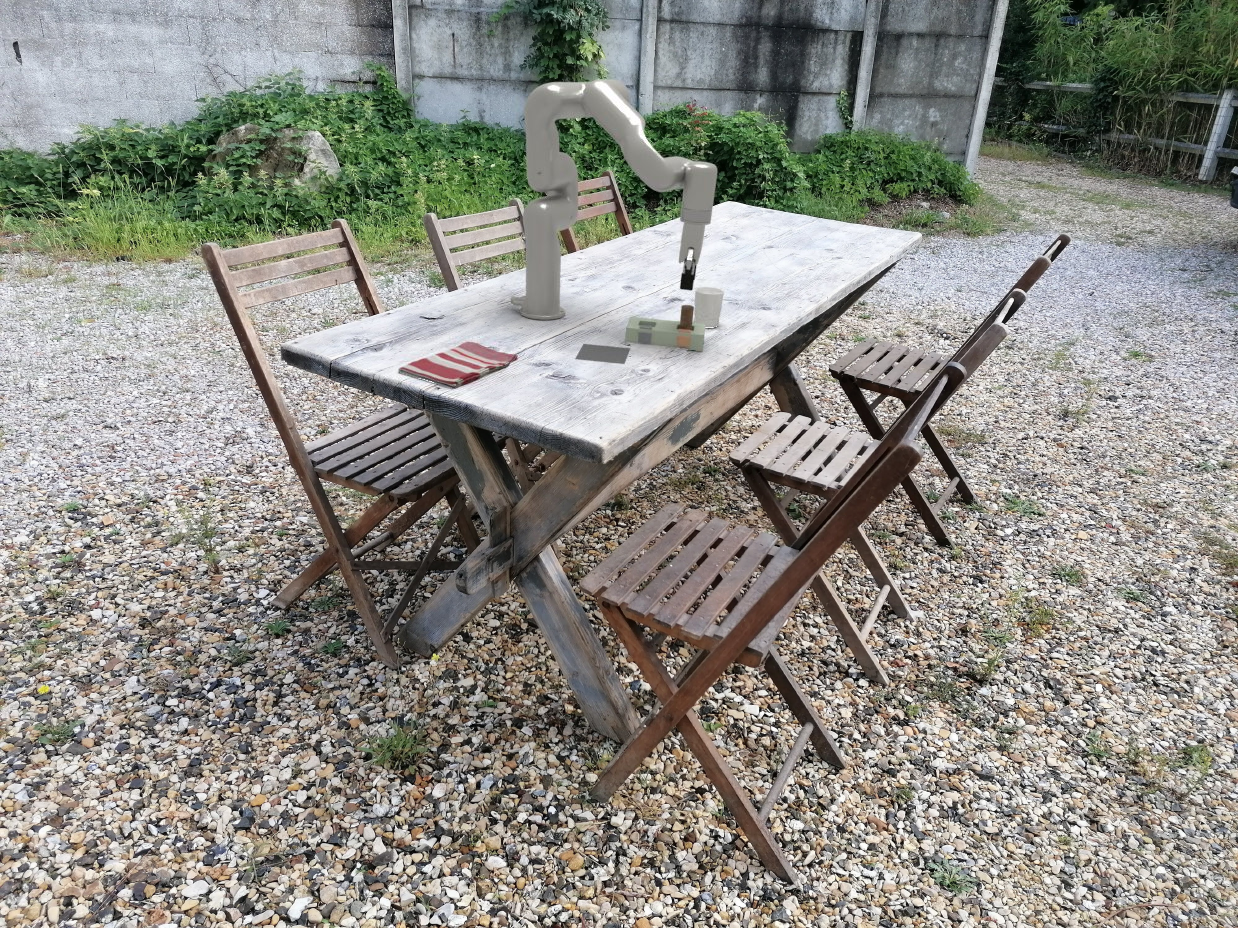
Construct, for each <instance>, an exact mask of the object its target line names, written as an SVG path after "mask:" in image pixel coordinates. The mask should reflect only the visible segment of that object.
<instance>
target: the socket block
mask: <svg viewBox="0 0 1238 928" xmlns="http://www.w3.org/2000/svg"><path fill="white" fill-rule="evenodd" d="M705 326H706V324H702V323H694V322H692V331H691V330H687V329H679V328H680V320H679V321H678V320H669V319H668V320H666V319H658V318H657V319H656V318H649V317H648V318H647V317H635V316H630V318H629V319H628V322H627V323H626V327H625V335H624V336H625V339H624V342H625V343H634V344H643V345H644V344H645V345H653V346H654V345H655V346H666V347H674V348H676V347H677V348H685V349H686V350H687V349H688V350H696V351H695V352H697V351H702V352H703V351H704V350H703V349H704V344H703V343H704V342H705V333H706V328H705Z"/></svg>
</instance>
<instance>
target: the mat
mask: <svg viewBox="0 0 1238 928" xmlns="http://www.w3.org/2000/svg"><path fill="white" fill-rule="evenodd" d="M630 351H631V347H623V346H622V347H621V346H612V345H611V346H608V345H602V344H601V345H600V344H599V345H598V344H589V343H583V344H582V346H581V347H580V349H579V351H578V353H577V355H576V356H575V358H574V360H580V361H591V362H599V363H600V362H602V363H611V364H620V365H625V363H626V361H627V359H628V356H629V354H630Z"/></svg>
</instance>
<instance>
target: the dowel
mask: <svg viewBox="0 0 1238 928" xmlns="http://www.w3.org/2000/svg"><path fill="white" fill-rule="evenodd" d="M680 307H681V308H680V310H681V311H680V318H679V321H680V328H679V329H687V330H691V331H692V323H694V308H695V306H693V305H689V304H684V305H682V304H681V306H680Z"/></svg>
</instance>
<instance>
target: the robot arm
mask: <svg viewBox="0 0 1238 928" xmlns="http://www.w3.org/2000/svg"><path fill="white" fill-rule="evenodd" d="M524 104H525V105H524V112H523V113H524V114H523V115H524V126H525V127H524V128H525V140H526V142H525V152H526V153H525V154H526V177H527V178H526V179H527V182H528V183H527V184H528V185H529V187H530V188H531V189H532V190H533V191H535V192H538V193H546V194H547V195H546V196H542V197H537V198H535V199H533V200H531V201H529V203H527V204H526V206H525V208H524V210H523V212H522V224H523V230H524V237H525V296H523V295H522V297H520V296H519V297H518V296H514V295H513V296H511V297H510V303H511V304H512V305H513V306H521V307H520V308H519V314H520V315H521V316H522V317H525V318H527V319H533V320H542V321H546V320H548V321H549V320H556V319H560V318H563V317H564V316H566V309H564V308H563V307H562V306H560V304H561V302H560V301H561V300H560V299H561V298H560V297H561V265H562V263H561V262H562V258H561V257H562V250H561V249H562V248H561V243H560V240H559V235H558V232H561V231H565V230H567V229H569V228H571V227H572V226H573V225H575V222H576V221H577V217H578V215H579V214H578V212H579V174H578V167H577V165H576V163H575V161H574V159H573V158H572V157H571V156H570V155H569V154H568V153H565V152H562V151H560V136H559V131H558V128H557V125H556V123H555V122H556V121H557V120H561V119H564V120H565V119H579V118H583V119H584V118H593V119H594V120H595V122H596V123H598V124H599V126H600V127H602V128H603V130H605V131H606V132H607V134H609V135H610V137H611V138H612V139H613V140H614V141H615V142H616V143H617V144H618V145H619V147H620V149H621V153H622V155H623V157H624V160H625V161H626V163H627V164H628V166H629V168H630V169H631V170H632V171H633V173H634V174H636V175H637V177H638V178H640V180H641V181H642V182H643V183H644V184H646V185H647V187H649V188H650V189H652V190H653V191H656V192H658V193H663V192H664V193H665V192H669V191H673V190H678V189H679V190H680V189H683V192H682V200H681V209H680V217H679V221H680V222H682V223H683V225H682V226H683V227H682V232H681V237H680V238H681V239H680V248H679V255H678V263H679V264H682V263H683V267H682V272H681V276H680V284H679V290H684V291H693V289H694V282H695V279H696V273H697V265H698V264H699V261H700V257H701V254H702V250H703V249H702V248H703V243H704V236H705V229H706V226H707V225H708V226H709V225H710V224H711V221H712V216H713V215H712V214H713V206H714V199H715V192H716V185H717V179H718V177H717V176H718V167H717V166H716V164H713V163H712V162H707V161H695V160H692V159H688V158H686V157H682V156H676V155H675V156H669V157H663V156H662V155H661V154H660V152H658V151H657V150H656V148H654V146H652V144H651V143H650V142H649V140H648V138H647V137H646V134H645V128H646V119H645V118H644V117H643V115H642V114H640V113H639V112H638V111H637V110H636V109H635V107H633V106H632V105H631V95H630V91H629V89H628V87H627V86H626V85H625V84H624V83H623V82H622V81H620V80H618V79H614V78H613V79H612V78H611V79H610V78H607V79H605V78H603V79H602V78H599V79H594V80H592V81H576V82H575V81H573V82H572V81H569V82H567V81H553V82H547V83H544V84H541V85H539V86H537V87H536V88H535V89H534V90H532V92H531V93H530V94H529V95H528V97H527V99H526V101H525V103H524Z"/></svg>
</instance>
